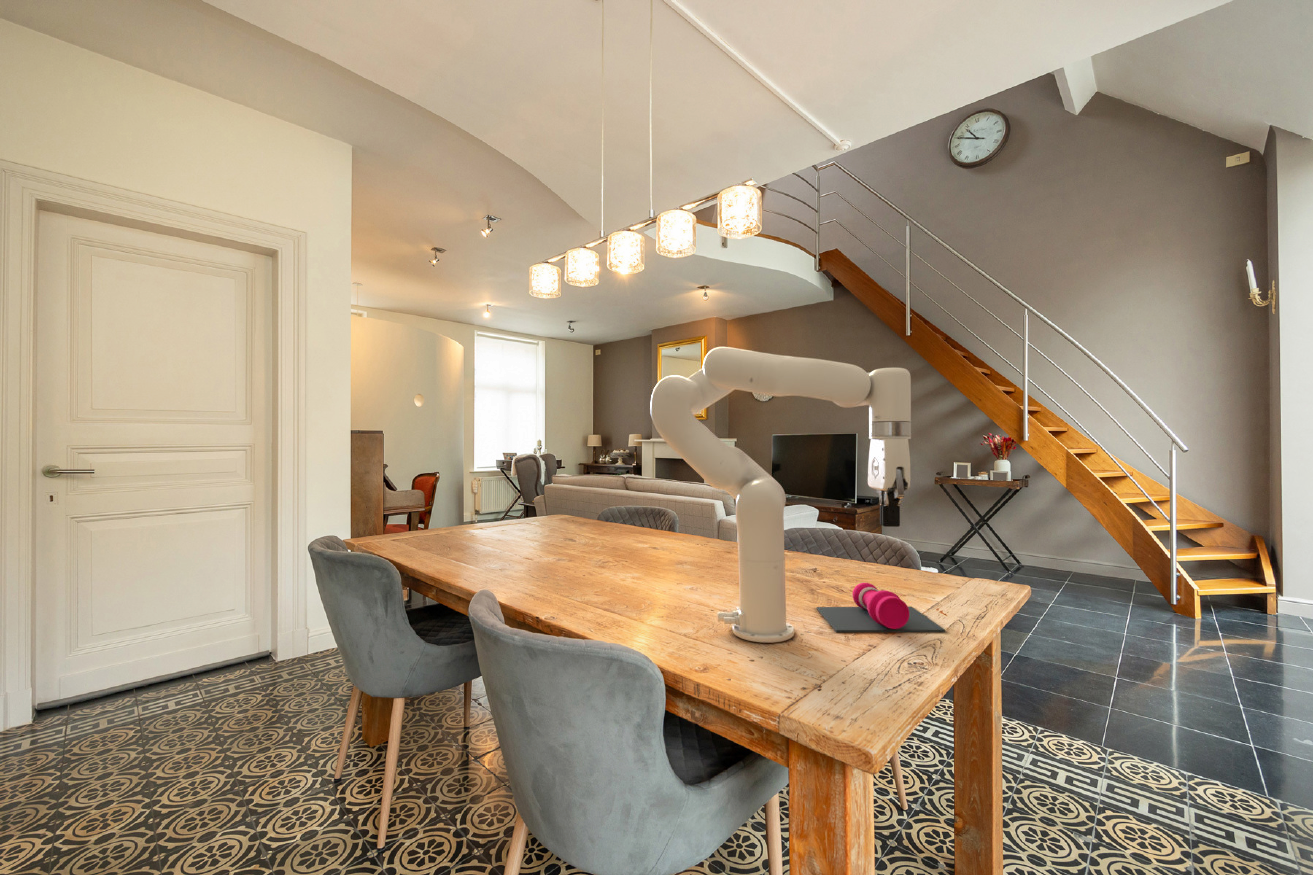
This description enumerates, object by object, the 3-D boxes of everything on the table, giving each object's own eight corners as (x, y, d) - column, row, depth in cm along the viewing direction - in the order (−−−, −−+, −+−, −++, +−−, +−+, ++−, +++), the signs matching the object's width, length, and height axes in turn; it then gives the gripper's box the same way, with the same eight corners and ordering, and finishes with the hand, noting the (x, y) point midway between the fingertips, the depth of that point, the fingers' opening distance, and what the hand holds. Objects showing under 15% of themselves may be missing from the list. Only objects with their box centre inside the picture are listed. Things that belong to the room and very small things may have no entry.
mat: (836, 632, 110) (836, 630, 110) (816, 608, 126) (816, 606, 126) (945, 632, 109) (945, 629, 109) (911, 608, 125) (911, 606, 125)
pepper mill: (871, 601, 109) (840, 581, 129) (882, 635, 108) (850, 610, 128) (905, 590, 109) (869, 572, 129) (917, 625, 108) (879, 602, 128)
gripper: (857, 432, 112) (857, 520, 112) (884, 430, 97) (884, 532, 97) (894, 432, 112) (894, 520, 112) (926, 431, 97) (927, 532, 97)
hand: (889, 525), depth 104 cm, fingers closed
